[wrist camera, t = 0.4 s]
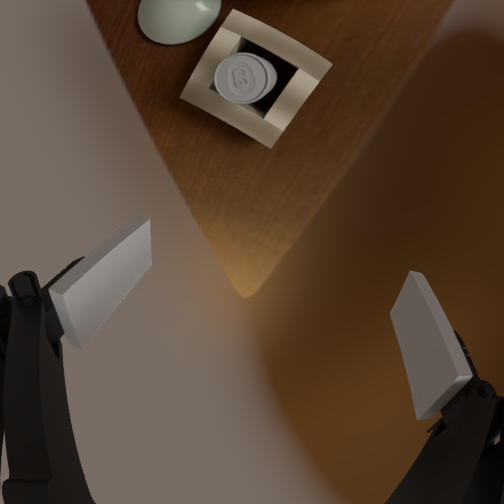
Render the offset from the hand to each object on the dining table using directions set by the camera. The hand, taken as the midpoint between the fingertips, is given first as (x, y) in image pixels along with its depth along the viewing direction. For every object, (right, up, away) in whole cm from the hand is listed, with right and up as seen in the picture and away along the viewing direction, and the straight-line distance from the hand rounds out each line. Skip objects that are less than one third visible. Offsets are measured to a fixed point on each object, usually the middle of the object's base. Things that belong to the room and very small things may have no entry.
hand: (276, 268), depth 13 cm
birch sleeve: (0, +22, +16) cm, 27 cm away
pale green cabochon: (-10, +31, +11) cm, 35 cm away
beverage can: (0, +22, +16) cm, 27 cm away
